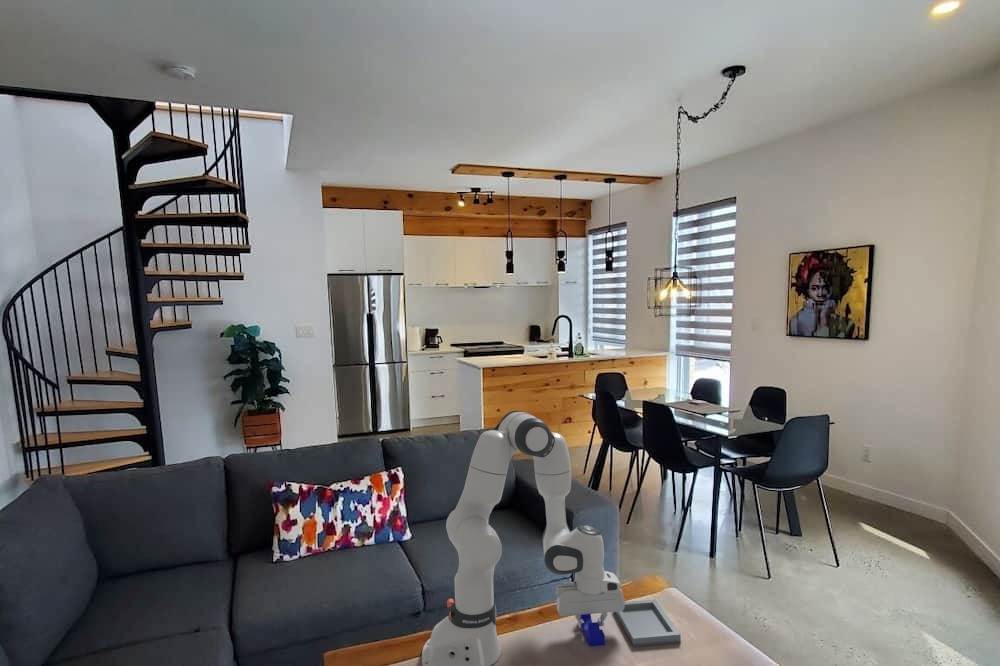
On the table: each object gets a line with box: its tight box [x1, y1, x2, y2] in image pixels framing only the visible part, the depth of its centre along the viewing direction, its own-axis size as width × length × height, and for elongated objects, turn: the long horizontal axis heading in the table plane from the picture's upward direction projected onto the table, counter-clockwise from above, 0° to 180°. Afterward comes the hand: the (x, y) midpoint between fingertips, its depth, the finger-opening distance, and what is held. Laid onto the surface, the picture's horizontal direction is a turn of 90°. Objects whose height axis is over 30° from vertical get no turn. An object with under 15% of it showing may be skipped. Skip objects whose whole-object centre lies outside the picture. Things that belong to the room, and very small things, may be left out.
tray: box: [614, 599, 682, 648], centre depth 149 cm, size 14×18×2 cm
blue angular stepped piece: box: [580, 614, 606, 647], centre depth 147 cm, size 12×4×6 cm, turn 5°
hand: (591, 626), depth 147 cm, fingers closed on blue angular stepped piece, 4 cm apart
